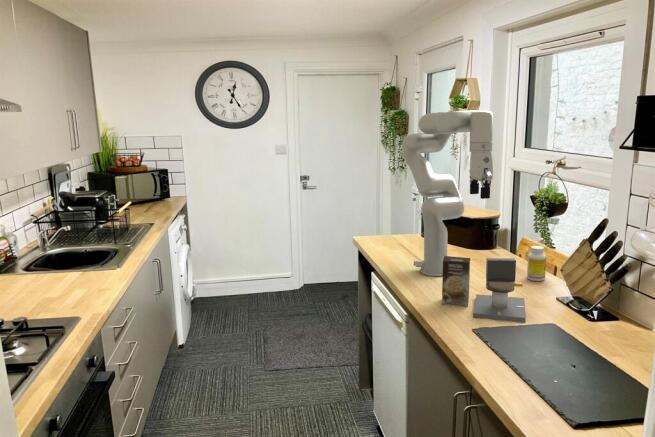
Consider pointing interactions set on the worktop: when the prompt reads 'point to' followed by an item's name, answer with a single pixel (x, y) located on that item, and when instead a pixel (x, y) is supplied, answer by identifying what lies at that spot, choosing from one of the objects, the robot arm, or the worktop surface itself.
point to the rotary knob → (501, 275)
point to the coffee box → (455, 281)
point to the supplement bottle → (536, 264)
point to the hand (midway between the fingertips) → (479, 196)
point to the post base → (505, 312)
